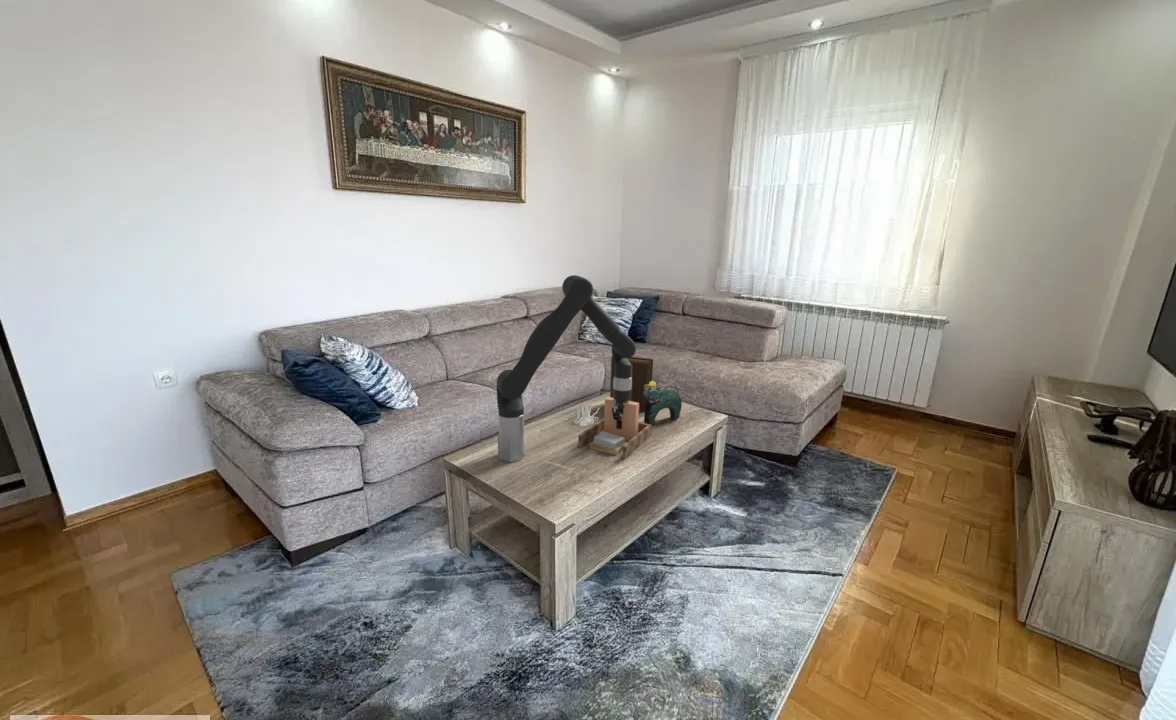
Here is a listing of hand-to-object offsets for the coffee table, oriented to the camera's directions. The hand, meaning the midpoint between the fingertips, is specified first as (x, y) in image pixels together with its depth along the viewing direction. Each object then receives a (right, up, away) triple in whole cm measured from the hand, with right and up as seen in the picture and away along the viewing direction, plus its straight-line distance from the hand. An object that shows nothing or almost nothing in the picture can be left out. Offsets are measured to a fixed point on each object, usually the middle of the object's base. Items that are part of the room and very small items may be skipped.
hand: (620, 426), depth 202 cm
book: (+8, +4, +35) cm, 36 cm away
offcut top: (-5, -5, -9) cm, 11 cm away
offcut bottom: (-5, -8, -8) cm, 12 cm away
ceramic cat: (+19, -1, +19) cm, 27 cm away
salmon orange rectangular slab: (0, -5, +1) cm, 5 cm away
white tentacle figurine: (-14, 0, +17) cm, 22 cm away
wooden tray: (-3, -6, -3) cm, 7 cm away
